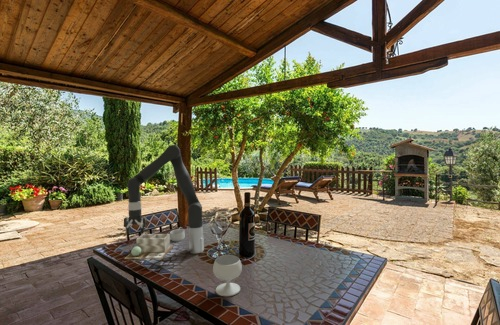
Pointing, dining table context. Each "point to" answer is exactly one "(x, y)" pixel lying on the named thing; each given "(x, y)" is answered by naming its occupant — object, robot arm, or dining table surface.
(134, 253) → the sage ball
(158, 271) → the dining table surface
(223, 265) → the chalice
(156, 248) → the sorting board
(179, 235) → the teacup
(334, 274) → the dining table surface
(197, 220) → the robot arm
